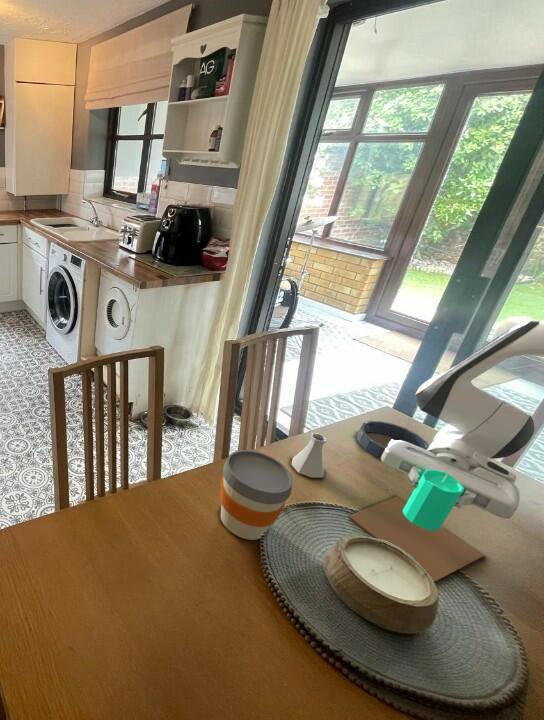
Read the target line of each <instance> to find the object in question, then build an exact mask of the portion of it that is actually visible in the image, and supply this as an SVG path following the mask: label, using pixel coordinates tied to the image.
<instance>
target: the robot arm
mask: <svg viewBox="0 0 544 720" xmlns="http://www.w3.org/2000/svg"><path fill="white" fill-rule="evenodd" d="M521 356H529V357H530V356H532V357H541V358H544V320H540V321H538V320H537V321H536V320H527V321H524V322H522V323H520V324H518V325H515V326H514V327H512V328H510V329H508V330H507V331H506V332H504V333H502V334H500V335H499V336H498V337H496V338H494V339H492V340H491V341H489V342H487V343H486V344H485V345H483V346H481V347H480V348H478V349H477V350H475V351H474V352H472V353H471V354H469V355H468V356H467V357H465V358H463V359H462V360H460V361H459V362H457V363H456V364H454V365H453V366H451V367H449V368H448V369H447V370H445V371H443V372H441V373H439V374H437V375H434V376H432V377H430V378H429V379H427V380H426V381H424V382H423V383H422V384H420V386H419V387H418V389H417V390H416V392H415V394H414V398H415V402H416V404H417V407H418V409H419V410H420V411H422V412H423V413H426V414H427V415H429V416H431V417H433V418H435V419H438V420H440V421H442V422H444V423H446V424H445V425H443V427H441V428H440V429H439V431H437V433H436V434H435V436H434V437H433V439H432V442H431V443H430V444H428V445H429V447H428V449H427V450H425V449H423V448H421V447H418V446H416V445H413V444H411V443H408V442H406V441H403V440H401V439H398V440H395V439H390V441H388V442H387V446H385V447H386V449H385V450H384V452H383V454H382V457H381V459H380V460H381V462H382V463H383V464H384V465H387V466H388V467H391V468H393V469H394V470H397V471H399V472H402V473H403V474H406V475H407V477H408V478H409V480H410V481H411V483H410V486H412V487H414V488H415V487H417V485H418V483H419V480H420V478H421V476H422V475H423V473H424V472H425V470H438V471H443V472H445V473H447V474H448V475H450V476H452V477H453V478H454V479H456V480H457V481H458V482H459V483H460V484H461V485H462V486H463V488H464V490H463V492H462V493H461V495H460V497H459V498H458V500H457V501H456V503H455V505H454V506H453V507H456V508H458V509H461V508H462V506H468V505H469V506H471V505H473V506H475V507H477V508H480V509H482V510H484V511H486V512H488V513H491V514H492V515H494V516H496V517H499V518H501V519H511V518H512V517H513V515H514V514H515V513H516V511H517V510H518V509H519V506H520V491H519V488H518V487H517V485H516V484H515V483H516V480H517V476H516V474H515V473H513V472H512V471H510V470H508V469H506V468H504V467H502V466H500V465H499V464H497V463H495V462H493V461H492V460H495V459H503V458H504V459H505V458H508V457H511V456H512V455H514V454H516V453H517V452H519V451H520V450H522V449H523V448H524V447H525V446H526V445H527V444H528V443H529V442H530V440H531V439H532V437H533V435H534V433H535V422H534V419H533V417H532V415H531V414H529V413H527V412H526V411H524V410H523V409H520V408H518V407H516V406H515V405H512V404H510V403H509V402H507V401H505V400H503V399H500V398H498V397H497V396H494V395H493V394H490V393H488V392H487V391H485V390H483V389H481V388H479V387H477V386H475V384H473V383H472V381H473V380H475V379H476V378H478V377H479V376H481V375H483V374H484V373H486V372H487V371H489V370H491V369H492V368H494V367H495V366H497V365H499V364H500V363H502V362H504V361H505V360H508V359H510V358H514V357H515V358H516V357H521Z"/></svg>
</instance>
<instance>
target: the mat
mask: <svg viewBox="0 0 544 720" xmlns="http://www.w3.org/2000/svg"><path fill="white" fill-rule="evenodd" d="M406 504H407V502H406V501H405V500H403V499H402V498H400V497H399V496H395V497H391V498H390V499H387V500H385V501H382V502H379V503H377V504H374V505H372V506H369V507H367V508H364V509H362V510H359V511H357V512H355V513H353V514H350V515H348V518H349V519H350V520H351V521H353V523H355V524H357V525H358V526H359V527H360V528H362V529H363V530H364V531H365V532H366V533H368V534H369V535H370V536H372V538H374V539H376V538H380V539H383V540H386V541H388V542H390V543H392V544H394V545H396V546H399V547H400V548H402V549H403V550H405V551H406V552H407V553H409V554H410V555H411V556H412V557H413V558H414V559H415V560H416V561H417V562H419V564H420V565H421V566H422V567H423V568H424V569H425V570H426V572H427V573H428V574H429V575H430V576H431V577H432V579H433V580H434V581H435V582H434V583H436V582H438V581H439V580H442V579H443V578H446V577H447V576H450V575H451V574H453V573H455V572H457V571H459V570H461V569H463V568H464V567H467V566H469V565H470V564H472V563H474V562H476V561H478V560H480V559H482V558H484V557H485V554H483V553H482V552H481V551H479V550H477V549H476V548H474V547H473V546H471V544H468V543H467V542H466V541H464V540H463V539H461V538H460V537H459V536H457V535H456V534H454V533H452V532H451V531H449V530H448V529H446V528H445V527H443V525H441V527H440V529H439V530H434V531H431V530H427V529H424V528H421V527H419V526H417V525H415V524H414V523H412V522H411V521H410V520H408V519H407V518H406V517H405V515H404V513H403V509H404V507H405V505H406ZM364 514H366V515H364Z"/></svg>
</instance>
